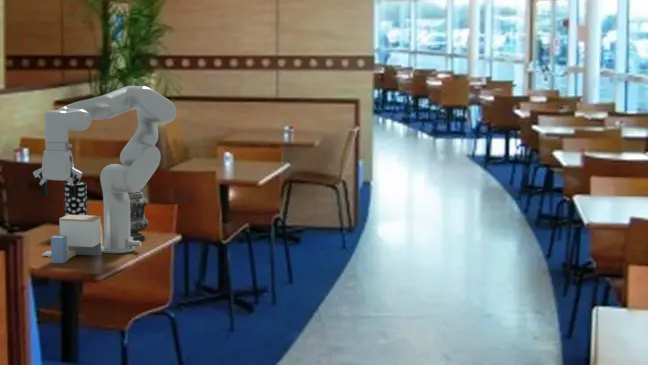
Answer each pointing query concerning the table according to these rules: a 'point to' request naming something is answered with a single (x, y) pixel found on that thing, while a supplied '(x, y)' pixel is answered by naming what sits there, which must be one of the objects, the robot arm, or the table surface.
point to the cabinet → (82, 233)
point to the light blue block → (60, 249)
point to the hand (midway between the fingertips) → (58, 196)
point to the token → (47, 253)
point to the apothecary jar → (137, 215)
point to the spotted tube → (76, 200)
